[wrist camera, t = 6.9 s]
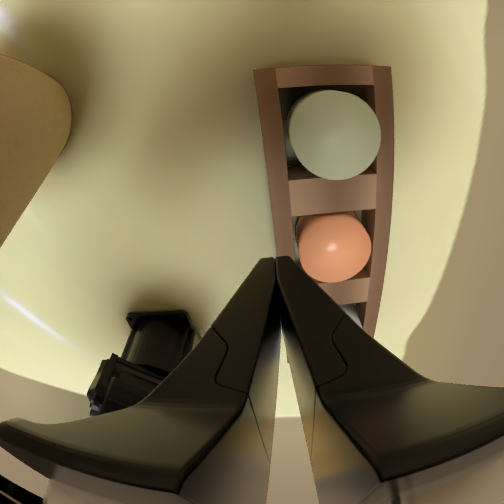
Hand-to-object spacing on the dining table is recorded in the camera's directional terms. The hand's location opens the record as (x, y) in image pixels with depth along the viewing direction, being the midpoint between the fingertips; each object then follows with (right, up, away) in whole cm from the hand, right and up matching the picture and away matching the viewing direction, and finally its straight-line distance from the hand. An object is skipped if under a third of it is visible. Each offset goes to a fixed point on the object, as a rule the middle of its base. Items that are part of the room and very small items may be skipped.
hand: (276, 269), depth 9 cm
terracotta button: (+5, +2, +13) cm, 15 cm away
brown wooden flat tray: (+5, +2, +14) cm, 15 cm away
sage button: (+4, +8, +8) cm, 12 cm away
